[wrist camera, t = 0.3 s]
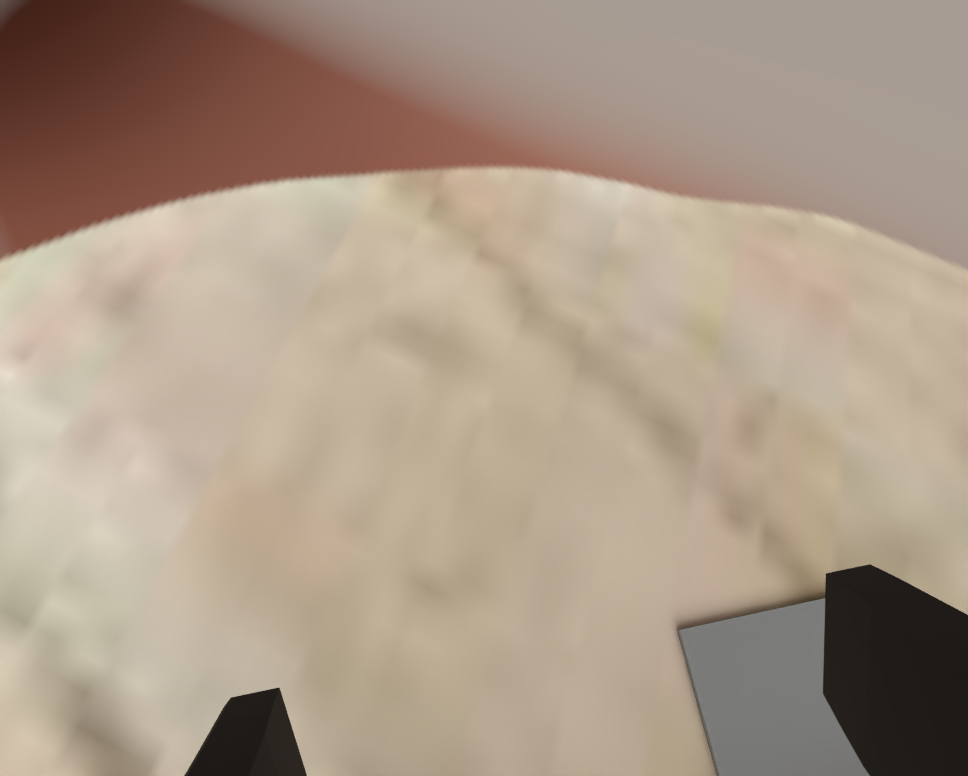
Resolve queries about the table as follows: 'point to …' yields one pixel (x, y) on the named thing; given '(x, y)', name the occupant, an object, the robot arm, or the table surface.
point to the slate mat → (767, 694)
